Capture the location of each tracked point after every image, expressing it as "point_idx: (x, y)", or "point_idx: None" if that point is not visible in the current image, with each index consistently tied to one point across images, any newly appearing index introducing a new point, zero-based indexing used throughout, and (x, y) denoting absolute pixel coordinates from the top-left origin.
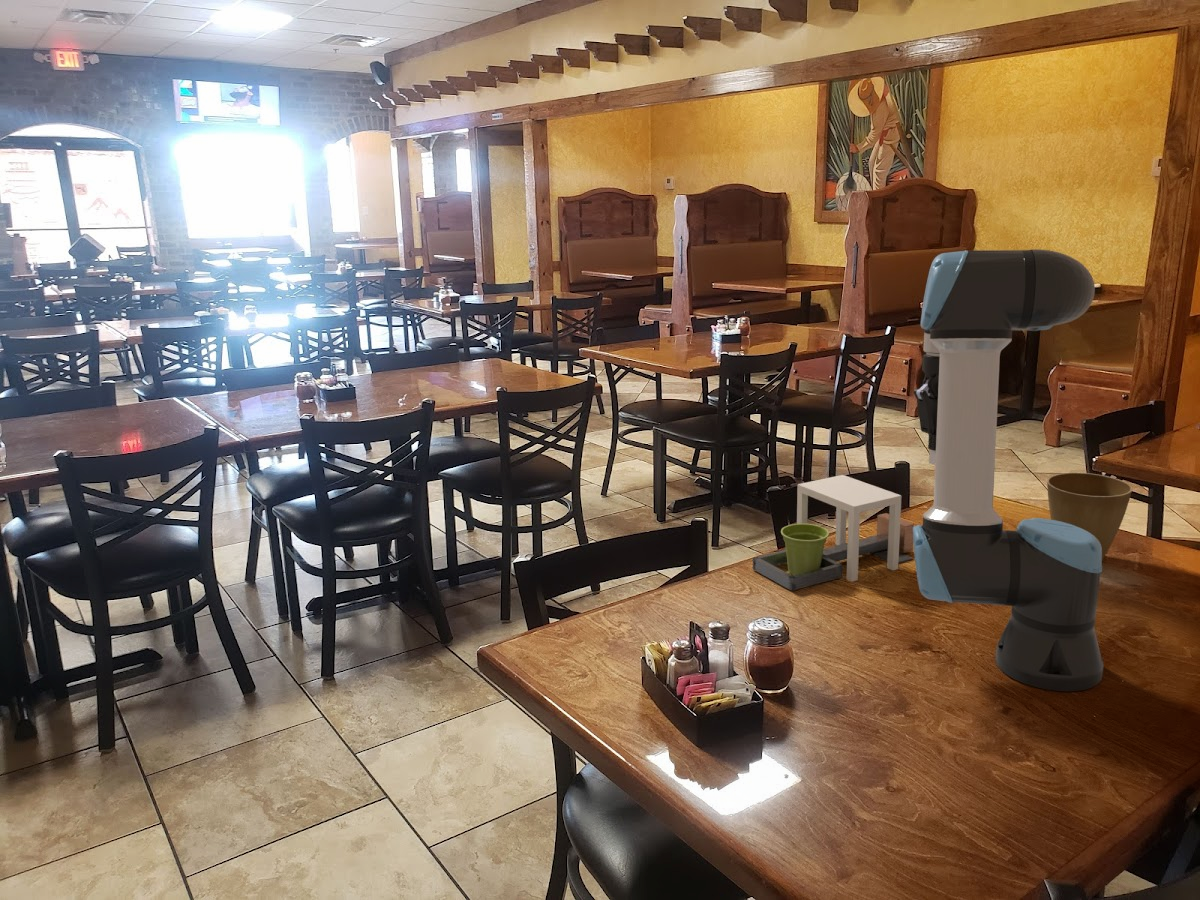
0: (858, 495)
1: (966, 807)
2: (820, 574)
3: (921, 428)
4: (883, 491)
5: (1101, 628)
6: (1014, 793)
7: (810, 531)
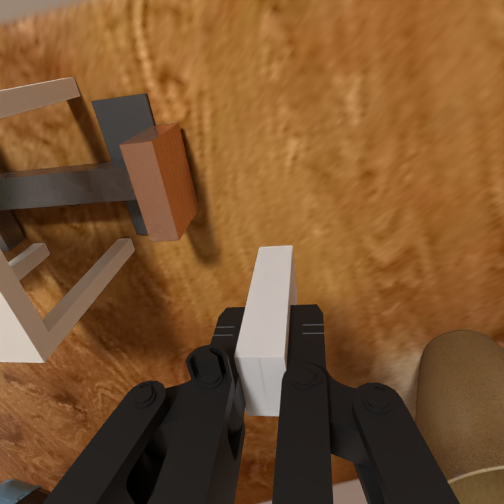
0: None
1: None
2: None
3: (120, 409)
4: (5, 322)
5: (266, 450)
6: None
7: None
